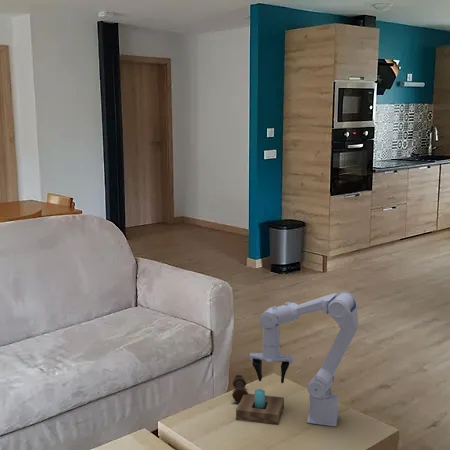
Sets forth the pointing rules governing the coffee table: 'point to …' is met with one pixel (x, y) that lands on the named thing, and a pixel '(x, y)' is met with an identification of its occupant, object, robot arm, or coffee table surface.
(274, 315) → the robot arm
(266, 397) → the bore block
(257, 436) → the coffee table surface
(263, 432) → the coffee table surface
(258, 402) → the pin
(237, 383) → the bolt
